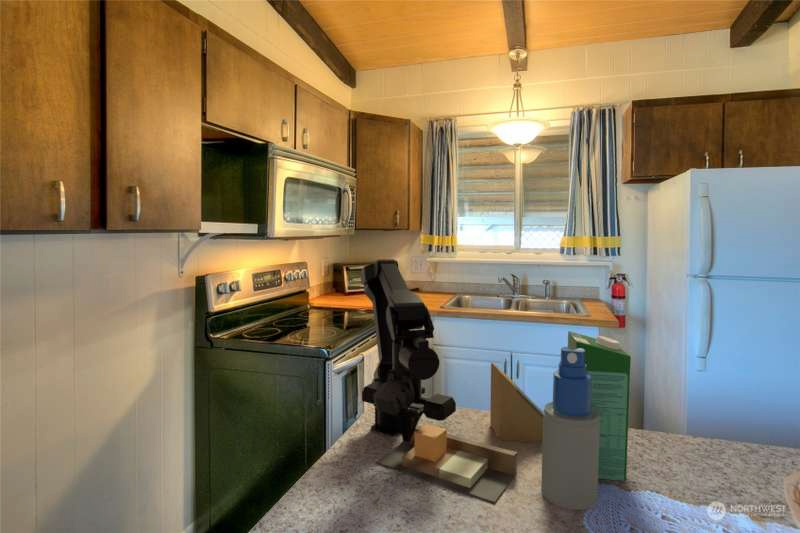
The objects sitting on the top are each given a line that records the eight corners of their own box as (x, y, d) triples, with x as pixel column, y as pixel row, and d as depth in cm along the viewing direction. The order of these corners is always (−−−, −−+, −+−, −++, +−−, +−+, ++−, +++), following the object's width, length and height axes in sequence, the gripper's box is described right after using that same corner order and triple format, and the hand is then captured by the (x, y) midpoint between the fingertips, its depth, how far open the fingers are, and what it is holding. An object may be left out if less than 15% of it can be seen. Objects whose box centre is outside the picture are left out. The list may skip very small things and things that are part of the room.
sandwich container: (570, 440, 95) (572, 372, 94) (499, 442, 94) (500, 373, 93) (554, 423, 103) (556, 360, 102) (489, 424, 103) (490, 361, 102)
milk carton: (626, 481, 79) (631, 343, 77) (572, 476, 81) (576, 340, 79) (612, 456, 88) (617, 332, 86) (564, 452, 89) (568, 330, 88)
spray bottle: (595, 516, 69) (600, 358, 67) (536, 500, 73) (539, 351, 72) (599, 487, 77) (603, 345, 75) (546, 474, 81) (549, 340, 79)
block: (414, 455, 84) (414, 432, 84) (426, 445, 88) (426, 423, 88) (435, 461, 82) (435, 438, 81) (446, 451, 85) (446, 429, 85)
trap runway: (375, 463, 85) (375, 442, 85) (405, 440, 94) (406, 422, 94) (494, 503, 72) (495, 480, 72) (516, 473, 81) (516, 452, 81)
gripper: (343, 366, 85) (344, 445, 86) (428, 384, 75) (428, 473, 76) (377, 353, 94) (378, 425, 95) (457, 367, 84) (456, 447, 85)
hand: (407, 441), depth 88 cm, fingers closed
